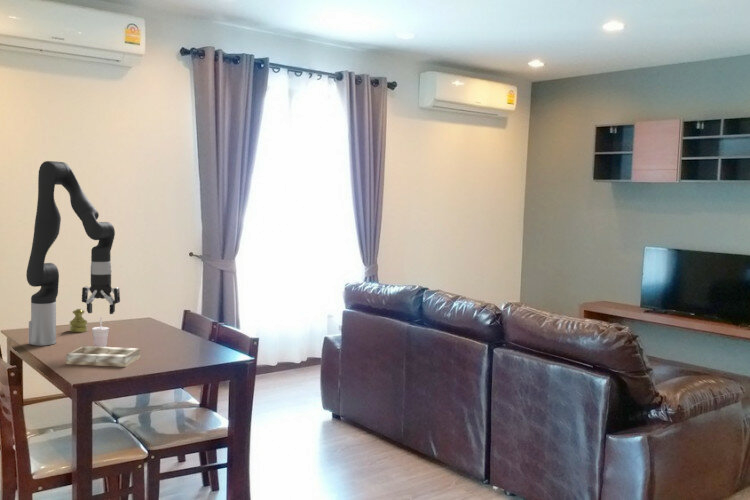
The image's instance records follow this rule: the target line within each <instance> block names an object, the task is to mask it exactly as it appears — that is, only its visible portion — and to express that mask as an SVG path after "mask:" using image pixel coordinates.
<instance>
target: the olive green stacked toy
mask: <svg viewBox="0 0 750 500" xmlns="http://www.w3.org/2000/svg"><path fill="white" fill-rule="evenodd" d="M85 312H86V311H85V310H84V309H81V308H76V309H75V310H73V311H72V314H73V315H74V317H73V319H72V320H70V321H69V332H70V333H85V332H87V331H88V325H87V324H88V321H87V320H86V319H85V318H84V317H83V314H85Z"/></svg>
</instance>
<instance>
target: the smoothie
mask: <svg viewBox="0 0 750 500" xmlns="http://www.w3.org/2000/svg"><path fill="white" fill-rule="evenodd" d="M102 321H103V320H102V317H100V318H99V326H94V327H92V329H91V332H92V336H93V337H92V338H93V345H94V346H98V347H107V344H108V338H109V336H108V335H109V331H110V327H107V326H103V325H102Z"/></svg>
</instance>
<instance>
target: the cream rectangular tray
mask: <svg viewBox="0 0 750 500" xmlns="http://www.w3.org/2000/svg"><path fill="white" fill-rule="evenodd" d="M140 358H141V348H137V347H136V348H135V347H120V346H119V347H116V346H106V347H98V346H95V345H94V346H92V345H82V346H81V347H79V348H76V349H74V350H73V351H70V352H68V353H66V356H65V359H66V360H65V361H66V363H65V364H66V365H78V366H98V367H99V366H101V367H102V366H103V367H118V368H119V367H121V368H123V367H124V368H126V367H128V366H129V365H131V364H133V363H134V362H136V361H137V360H139V359H140Z"/></svg>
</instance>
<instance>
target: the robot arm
mask: <svg viewBox="0 0 750 500" xmlns="http://www.w3.org/2000/svg"><path fill="white" fill-rule="evenodd" d="M37 175H38V176H37V177H38V180H37V181H38V182H37V185H38V186H37V204H36V214H35V220H34V227H33V237H32V243H31V250H30V254H29V259H28V264H27V268H26V281H27V284H29V286H31V287H34V288H35V287H40V289H39V290H38V291H36V293H33V294H32V295H31V297H30V320H29V321H28V345H32V346H39V347H41V346H50V345H51V346H52V345H55V344H56V343H57V297H58V295H59V282H60V275H59V274H60V273H59V269H58V266H57V265H56V264H55V263H53V262H46V261H45V260H46V257H47V254H48V252H49V250H50V248H52V245H54V242H56V240H57V238H58V236H59V234H60V230H61V221H62V217H61V213H60V210H59V208H58V206H57V204H56V201H55V200H56V199H55V187H56V185H60V186H62V187H63V188H64V189H65V190H66V191H67V193H68V195H69V199H70V206H71V208H72V210H73V212H74V213H75V214H76V216H77V217H78V218H79V220H80V221H81V223H82V226H83V228H84V231H85V233H86V235H87V236H88V237H89V238H90V239H92V240H94V241H98V243H97V245H96V246H93V247H91V255H90V258H91V259H90V287H89V286H84V287H82V288H81V302H82V303H84V304H86V312H87V314H92V313H93V302H94V300H95V299H102V300H103V299H105V300H106V301H107V302H108V303H109V315H114V314H115V312H116V304H119V303H120V302H121V294H120V288H119V287H114V288H113V287H112V265H111V264H112V263H111V257H112V256H111V250H112V247H113V243H114V240H115V237H116V236H115V235H116V231H115V227H114V225H113V224H112V223H111V222H108V221H99V222H98V218H99V216H100V214H99V211H98V210H97V209H96V207H95V206H94V205H93V203H92V202H91V201H90V200H89V199H88V197H87V196H86V194H85V192H84V190H83V188H82V187H81V185H80V183H79V181H78V179H77V177H76V175H75V173H74V172H73V169H72V168H71V167H70V165H69V164H68V163H67V162H64V161H52V160H45V161H43V162H42V163H41V164H40V166H39V170H38V174H37ZM89 292H90V293H91V294H90V296H89ZM111 293H112V294H113V296H112V294H111ZM88 296H89V297H88Z"/></svg>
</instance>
